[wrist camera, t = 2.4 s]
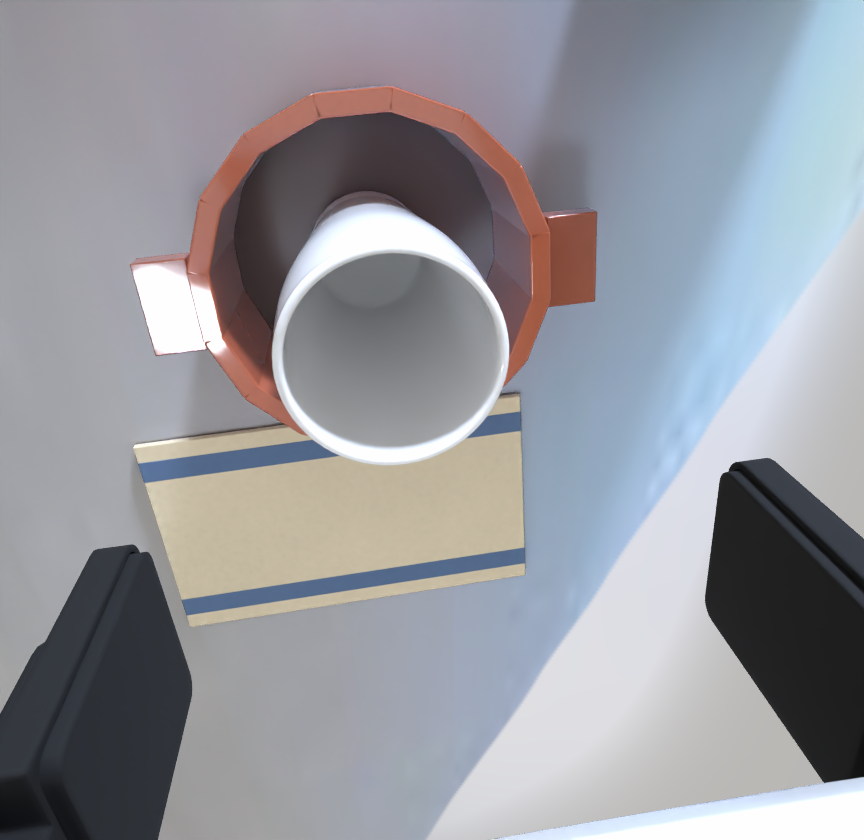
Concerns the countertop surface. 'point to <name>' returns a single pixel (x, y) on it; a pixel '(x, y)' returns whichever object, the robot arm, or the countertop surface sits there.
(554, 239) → the cooking pot
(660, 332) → the countertop surface
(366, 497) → the tea towel
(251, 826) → the countertop surface
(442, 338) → the drinking glass
